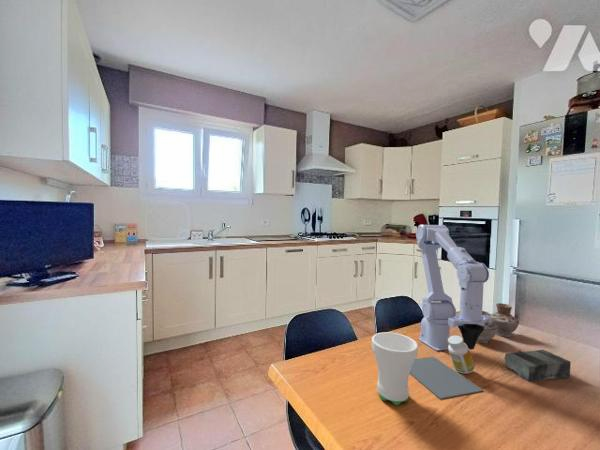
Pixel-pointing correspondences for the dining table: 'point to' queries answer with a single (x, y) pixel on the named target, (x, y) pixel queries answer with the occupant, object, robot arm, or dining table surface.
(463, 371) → the supplement bottle
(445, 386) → the mat
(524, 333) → the dining table surface
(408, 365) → the cup
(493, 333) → the pottery
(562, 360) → the stone block
